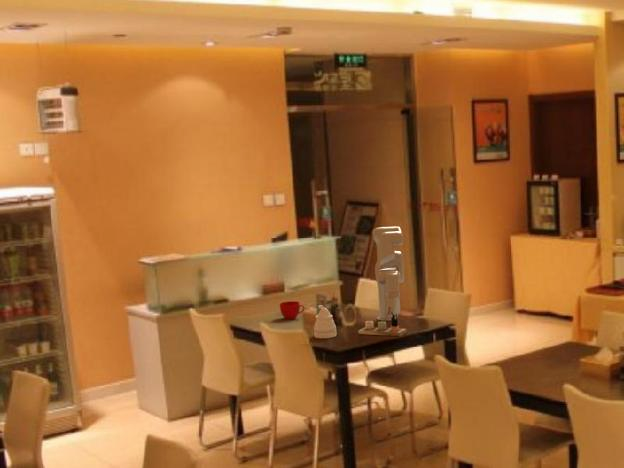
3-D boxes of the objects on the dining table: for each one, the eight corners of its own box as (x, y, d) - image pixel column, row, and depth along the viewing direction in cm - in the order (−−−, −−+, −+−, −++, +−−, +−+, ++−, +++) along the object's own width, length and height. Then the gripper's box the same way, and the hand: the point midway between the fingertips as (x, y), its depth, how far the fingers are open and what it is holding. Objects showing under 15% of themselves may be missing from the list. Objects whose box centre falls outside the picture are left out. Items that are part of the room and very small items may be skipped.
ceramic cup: (300, 320, 553) (299, 305, 552) (277, 320, 561) (276, 304, 560) (309, 316, 565) (308, 301, 564) (286, 316, 572) (285, 301, 571)
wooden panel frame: (366, 330, 513) (365, 326, 513) (406, 332, 500) (406, 328, 500) (358, 333, 504) (358, 330, 504) (399, 336, 491) (399, 332, 491)
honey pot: (318, 339, 497) (316, 308, 495) (311, 335, 509) (309, 304, 507) (339, 336, 500) (337, 305, 499) (332, 332, 513) (330, 302, 511)
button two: (380, 328, 505) (379, 321, 505) (387, 328, 503) (387, 321, 502) (376, 329, 501) (376, 322, 500) (384, 330, 499) (383, 323, 498)
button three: (393, 332, 501) (392, 325, 501) (400, 332, 499) (400, 325, 499) (389, 333, 497) (389, 326, 497) (397, 334, 495) (396, 327, 494)
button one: (367, 327, 509) (367, 320, 509) (375, 327, 507) (374, 320, 506) (364, 329, 505) (363, 322, 504) (371, 329, 502) (371, 322, 502)
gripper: (392, 292, 504) (394, 323, 506) (381, 296, 491) (383, 328, 493) (404, 292, 500) (405, 323, 502) (393, 297, 487) (395, 329, 489)
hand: (394, 325), depth 498 cm, fingers closed
